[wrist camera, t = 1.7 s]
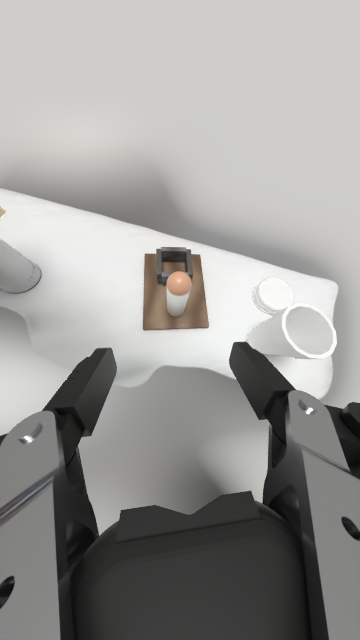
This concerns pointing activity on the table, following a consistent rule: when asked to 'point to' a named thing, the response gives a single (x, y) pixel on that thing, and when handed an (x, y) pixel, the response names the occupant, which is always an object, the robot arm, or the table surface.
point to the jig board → (156, 290)
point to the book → (1, 211)
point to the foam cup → (295, 333)
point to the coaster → (273, 295)
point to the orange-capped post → (177, 292)
